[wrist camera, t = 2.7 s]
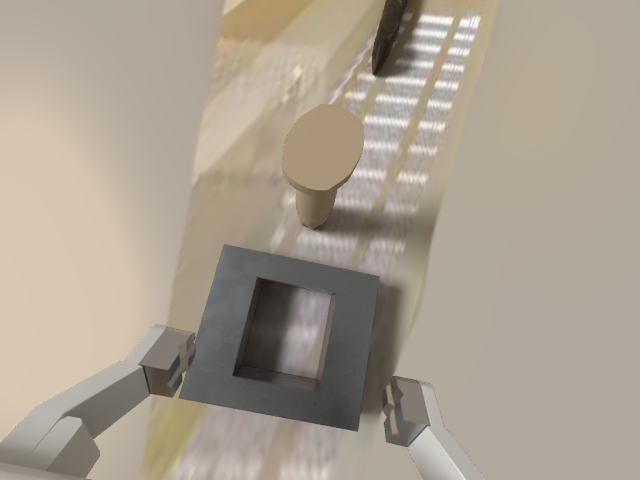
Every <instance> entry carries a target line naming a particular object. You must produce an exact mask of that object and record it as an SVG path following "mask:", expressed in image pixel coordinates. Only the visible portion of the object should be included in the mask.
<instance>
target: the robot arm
mask: <svg viewBox="0 0 640 480" xmlns="http://www.w3.org/2000/svg"><path fill="white" fill-rule="evenodd" d="M195 339H196V337H195V333H193V332H189V331H184V330H180V329H175V328H171V327H167V326H162V325H157V324H156V325H154V326H153V327H152V328H151V329H150V330H149V331H148V332H147V334H146V335H145V336H144V337H143V339H142V340H141V341H140V342H139V343H138V345H137V346H136V347H135V348H134V349H133V351H132V352H131V353H130V355H129V356H128V357H127V358H126V359H125V361H124V362H122V361H119V362H117V363H115V364H114V365H111V366H110V367H108V368H106V369H104V370H102V371H101V372H99V373H97V374H95V375H93V376H92V377H90V378H88V379H86V380H84V381H82V382H80V383H79V384H77V385H75V386H74V387H71V388H69V389H68V390H66V391H64V392H62V393H60V394H59V395H57V396H55V397H53V398H52V399H49V400H48V401H46V402H44V403H42V404H40V405H39V406H37V407H35V408H34V409H33V410H32V411H31V412H30V413H29V414H28V415H27V416H26V417H25V418H24V419H23V420H22V421H21V422H20V423H19V424H18V425H17V427H15V429H14V430H13V431H12V432H11V433H10V434H9V435H8V436H7V437H6V438H5V439H4V440H3V441H2V442H1V443H0V480H90V479H85V478H86V476H87V475H88V473H89V472H90V470H91V469H92V467H93V466H94V464H95V463H96V461H97V460H98V458H99V457H100V451H99V449H98V447H97V445H96V444H95V442H94V440H93V439H94V438H95V437H97V436H98V435H99V434H101V433H102V432H103V431H104V430H106V429H107V428H108V427H110V426H111V425H112V424H113V423H114V422H116V421H117V420H118V419H120V418H121V417H122V416H124V415H125V414H126V413H127V412H129V411H130V410H131V409H133V408H134V407H135V406H137V405H138V404H139V403H140V402H142V401H143V400H144V399H145V398H147V397H148V396H149V395H150V394H154V395H160V396H166V397H171V398H173V396H174V395H175V393H176V391H177V389H178V387H179V386H180V384H181V382H182V373H184V372H185V371H187V370H188V369H189V368H190V366H191V364H192V362H193V359H194V357H195V354H196V345H195V344H194V340H195ZM382 409H383V412H384V413H385V415H386V416H387V418H386V420H385V422H384V427H385V435H386V442H388V443H392V444H396V445H400V446H405V447H408V448H407V449H408V451H409V453H410V455H411V457H412V458H413V461H414V462H415V464H416V466H417V468H418V470H419V472H420V474H421V475H422V477H423V479H424V480H486V479H485V478H484V476H483V475H482V473H481V472H480V471H479V469H478V468H477V467H476V466H475V464H474V463H473V462H472V460H471V459H470V458H469V456H468V455H467V454H466V452H465V451H464V450H463V448H462V447H461V446H460V444H459V443H458V442H457V441H456V439H455V438H454V437H453V435H452V434H451V433H450V431H448V430H445V428H444V424H443V421H442V417H441V414H440V410H439V407H438V403H437V400H436V396H435V393H434V390H433V387H432V385H431V384H430V383H427V382H422V381H417V380H413V379H408V378H403V377H398V376H392V378H391V379H390V385H387V386H386V387H385V389H384V391H383V395H382Z"/></svg>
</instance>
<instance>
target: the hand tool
mask: <svg viewBox="0 0 640 480" xmlns="http://www.w3.org/2000/svg"><path fill="white" fill-rule="evenodd" d="M406 4H407V0H386V3H385V6H384V10H383V14H382V18H381V21H380V25H379V28H378V32H377V36H376V39H375V42H374V48H373V53H372V70H373V75H375V74H377V73H378V71H379V70H380V68H381V67H382V65H383V64H384V63H385V61H386V59H387V57H388V55H389V53H390V50H391V48H392V45H393V43H394V40H395V38H396V36H397V33H398V30H399V25H400V22H401V18H402V15H403V13H404V10H405V7H406Z"/></svg>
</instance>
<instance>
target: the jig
mask: <svg viewBox="0 0 640 480" xmlns="http://www.w3.org/2000/svg"><path fill="white" fill-rule="evenodd" d="M262 280H264V281H269V282H274V283H279V284H284V285H289V286H294V287H299V288H304V289H309V290H314V291H318V292H323V293H328V294H332V296H331V301H330V307H329V312H328V318H327V323H326V329H325V334H324V340H323V345H322V351H321V356H320V362H319V368H318V373H317V379H311V378H306V377H300V376H295V375H290V374H285V373H280V372H274V371H269V370H264V369H259V368H253V367H248V366H243V365H242V361H243V357H244V353H245V349H246V345H247V341H248V337H249V333H250V329H251V325H252V321H253V317H254V313H255V308H256V304H257V300H258V296H259V292H260V288H261V284H262ZM378 283H379V276H375V275H370V274H365V273H361V272H356V271H351V270H346V269H341V268H336V267H332V266H327V265H322V264H317V263H312V262H307V261H303V260H298V259H293V258H288V257H283V256H278V255H274V254H269V253H264V252H259V251H254V250H249V249H245V248H240V247H235V246H230V245H225V244H224V245H223V249H222V252H221V255H220V259H219V262H218V266H217V269H216V272H215V276H214V279H213V283H212V286H211V289H210V293H209V296H208V300H207V303H206V307H205V310H204V313H203V317H202V320H201V324H200V327H199V330H198V334H197V337H196V341H195V345H196V354H195V357H194V359H193V362H192V364H191V366H190V368H189V369H188V370H187V371H186V375H185V378H184V382H183V385H182V388H181V392H180V395H179V398H180V399H185V400H191V401H196V402H201V403H207V404H212V405H218V406H223V407H228V408H234V409H239V410H245V411H250V412H255V413H261V414H266V415H272V416H277V417H282V418H288V419H293V420H298V421H304V422H309V423H315V424H320V425H325V426H331V427H336V428H342V429H347V430H352V431H358V427H359V420H360V413H361V406H362V398H363V391H364V384H365V377H366V370H367V363H368V355H369V348H370V341H371V334H372V327H373V319H374V312H375V305H376V298H377V291H378Z"/></svg>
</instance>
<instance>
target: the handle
mask: <svg viewBox="0 0 640 480" xmlns="http://www.w3.org/2000/svg"><path fill="white" fill-rule="evenodd" d="M363 145H364V126H363V124H362V123H361V121H360V120H359V119H358V118H357V117H356V116H355V115H354V114H353V113H351V112H349V111H348V110H346V109H344V108H341V107H339V106H335V105H331V104H321V105H319V106H317V107H315V108H314V109H312V110H310V111H309V112H307V113H305V114H304V115H303V116H301V117H300V118H299V119H298V120H297V122H296V123H295V124H294V126H293V127H292V129H291V131H290V132H289V134H288V135H287V137H286V140H285V143H284V147H283V159H282V170H283V174H284V176H285V178H286V180H287V181H288V182H289V183H290V184H291V185H292V186H293V187H294V188H295V189H297V191H296V209H297V214H298V216H299V218H300V223H301V224H302V225H305V226H307V227H309V228H310V229H315V228H316V227H317V226H319V225H323V224H324V223H325V221H326V219H327V218H328V216H329V215H330V213H331V211H332V208H333V206H334V203H335V198H336V193H337V189H338V188H339V187H341V186H342V185H343V184H344V183H346V182H347V181H348V179H349V178H350V176H351V175H352V173H353V171H354V169H355V167H356V165H357V163H358V161H359V159H360V157H361V154H362V151H363Z"/></svg>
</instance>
